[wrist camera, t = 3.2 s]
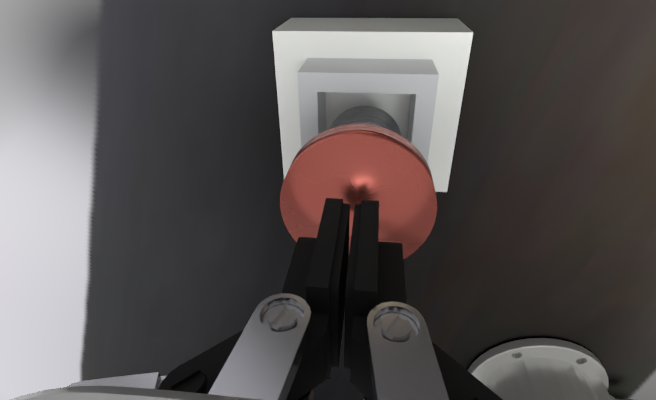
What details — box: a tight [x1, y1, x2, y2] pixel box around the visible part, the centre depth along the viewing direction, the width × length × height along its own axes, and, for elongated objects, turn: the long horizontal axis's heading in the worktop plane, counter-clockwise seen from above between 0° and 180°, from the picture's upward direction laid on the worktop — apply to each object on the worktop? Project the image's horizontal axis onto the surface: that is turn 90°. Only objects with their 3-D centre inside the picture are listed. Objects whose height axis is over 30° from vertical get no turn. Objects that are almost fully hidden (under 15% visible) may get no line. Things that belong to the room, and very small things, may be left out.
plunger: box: [280, 106, 437, 259], centre depth 17 cm, size 6×6×6 cm
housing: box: [272, 18, 473, 192], centre depth 23 cm, size 10×9×8 cm
